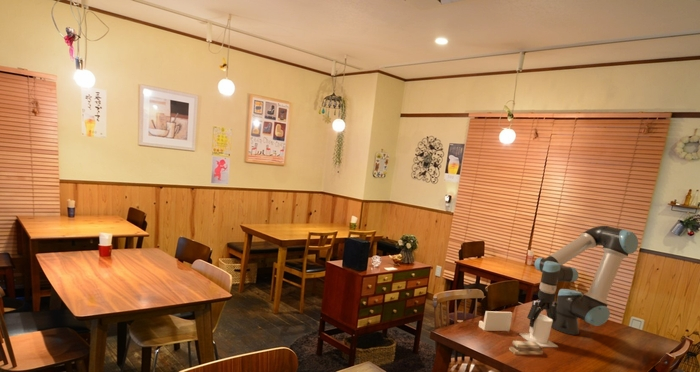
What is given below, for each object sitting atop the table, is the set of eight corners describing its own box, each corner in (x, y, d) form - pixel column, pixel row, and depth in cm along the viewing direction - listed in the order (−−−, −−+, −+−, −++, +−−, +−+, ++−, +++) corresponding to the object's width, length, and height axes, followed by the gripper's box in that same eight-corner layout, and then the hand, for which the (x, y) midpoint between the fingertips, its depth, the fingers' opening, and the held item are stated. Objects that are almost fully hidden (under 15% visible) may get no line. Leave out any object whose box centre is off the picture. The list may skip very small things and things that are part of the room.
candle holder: (551, 346, 186) (555, 323, 185) (531, 341, 188) (535, 318, 187) (545, 337, 195) (549, 315, 195) (525, 333, 197) (529, 311, 197)
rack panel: (503, 326, 203) (506, 309, 203) (509, 330, 199) (512, 313, 198) (478, 326, 199) (481, 308, 198) (484, 330, 194) (487, 312, 194)
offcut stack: (535, 349, 181) (537, 340, 180) (542, 354, 176) (544, 345, 176) (508, 349, 176) (510, 340, 176) (515, 354, 172) (516, 345, 171)
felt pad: (538, 334, 200) (538, 333, 200) (557, 347, 187) (558, 346, 187) (518, 334, 196) (518, 333, 196) (537, 347, 183) (537, 346, 183)
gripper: (535, 293, 183) (527, 336, 185) (570, 295, 189) (562, 336, 191) (524, 287, 190) (516, 329, 192) (558, 289, 196) (550, 329, 198)
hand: (539, 333), depth 191 cm, fingers open, 9 cm apart
